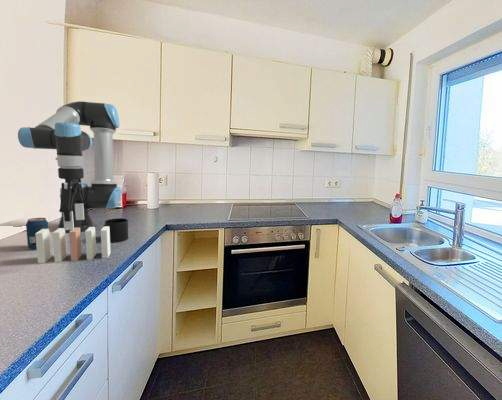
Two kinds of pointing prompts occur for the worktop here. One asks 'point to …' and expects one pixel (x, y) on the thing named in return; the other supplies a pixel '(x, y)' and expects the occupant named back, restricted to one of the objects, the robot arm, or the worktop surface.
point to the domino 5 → (105, 241)
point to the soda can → (34, 230)
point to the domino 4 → (90, 242)
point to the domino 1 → (43, 245)
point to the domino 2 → (59, 244)
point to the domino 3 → (75, 244)
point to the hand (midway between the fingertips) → (75, 224)
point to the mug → (117, 229)
